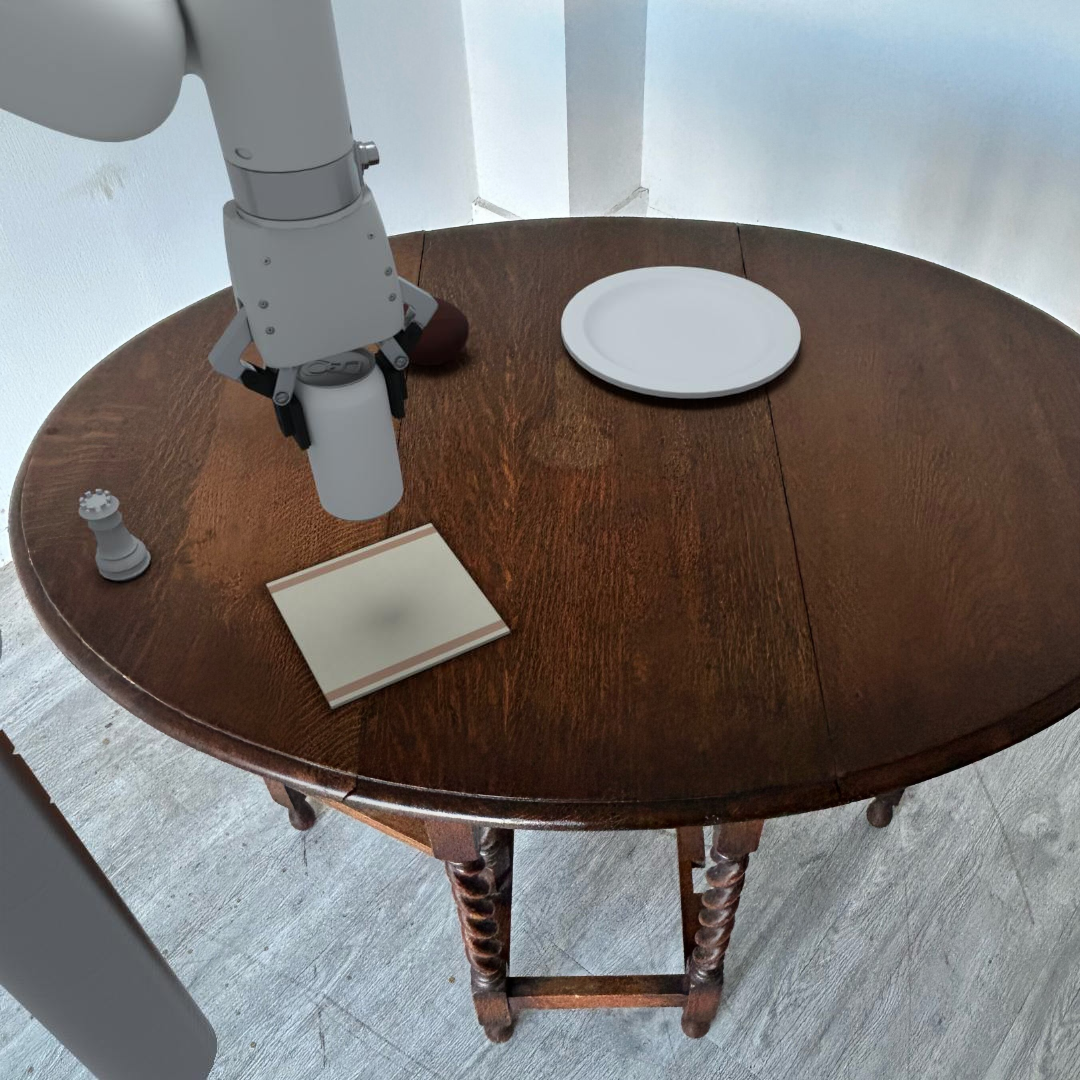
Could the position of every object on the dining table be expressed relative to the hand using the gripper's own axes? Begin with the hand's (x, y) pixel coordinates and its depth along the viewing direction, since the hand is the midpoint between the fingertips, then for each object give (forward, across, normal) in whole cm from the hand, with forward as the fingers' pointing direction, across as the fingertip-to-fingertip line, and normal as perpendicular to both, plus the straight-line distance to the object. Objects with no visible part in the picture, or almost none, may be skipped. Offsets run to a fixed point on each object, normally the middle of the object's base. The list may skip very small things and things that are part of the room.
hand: (346, 422), depth 72 cm
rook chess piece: (+20, +18, -17) cm, 32 cm away
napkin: (+20, 0, 0) cm, 20 cm away
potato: (+20, -20, -34) cm, 44 cm away
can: (+7, 0, 0) cm, 7 cm away
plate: (+20, -47, -23) cm, 56 cm away
